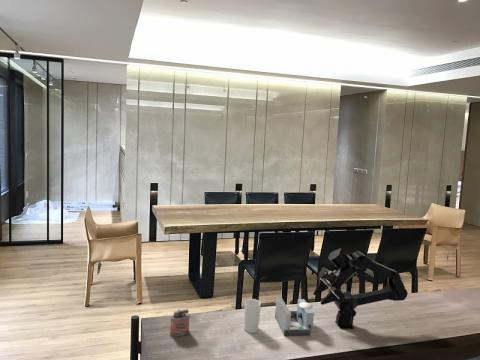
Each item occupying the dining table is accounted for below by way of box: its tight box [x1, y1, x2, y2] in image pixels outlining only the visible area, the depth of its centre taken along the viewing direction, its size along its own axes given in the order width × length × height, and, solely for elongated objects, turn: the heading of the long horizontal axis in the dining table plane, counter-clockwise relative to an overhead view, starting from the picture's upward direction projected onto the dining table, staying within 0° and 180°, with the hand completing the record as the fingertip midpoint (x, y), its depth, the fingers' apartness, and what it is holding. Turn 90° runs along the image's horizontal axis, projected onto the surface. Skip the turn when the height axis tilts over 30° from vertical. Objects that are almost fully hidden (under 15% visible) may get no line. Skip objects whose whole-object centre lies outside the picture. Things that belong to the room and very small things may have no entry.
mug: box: [243, 298, 262, 333], centre depth 173 cm, size 10×7×12 cm, turn 10°
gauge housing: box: [274, 295, 311, 337], centre depth 176 cm, size 11×17×10 cm, turn 9°
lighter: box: [169, 308, 191, 337], centre depth 164 cm, size 8×3×10 cm, turn 117°
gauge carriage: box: [295, 298, 315, 334], centre depth 176 cm, size 6×15×9 cm, turn 9°
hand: (317, 299), depth 177 cm, fingers open, 9 cm apart
